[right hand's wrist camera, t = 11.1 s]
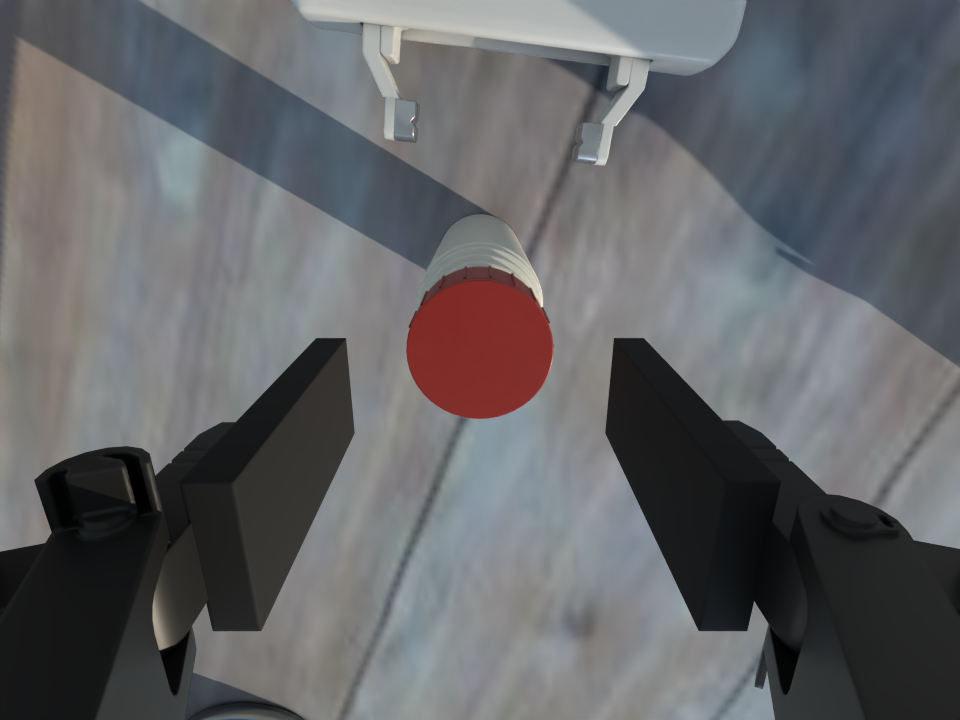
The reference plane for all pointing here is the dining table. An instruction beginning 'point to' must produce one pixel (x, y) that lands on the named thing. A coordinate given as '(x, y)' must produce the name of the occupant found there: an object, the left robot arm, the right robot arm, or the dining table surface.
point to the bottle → (480, 253)
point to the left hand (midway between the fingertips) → (495, 152)
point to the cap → (479, 343)
